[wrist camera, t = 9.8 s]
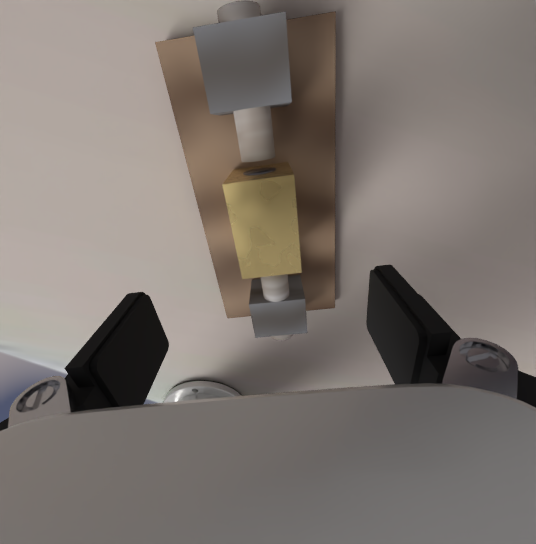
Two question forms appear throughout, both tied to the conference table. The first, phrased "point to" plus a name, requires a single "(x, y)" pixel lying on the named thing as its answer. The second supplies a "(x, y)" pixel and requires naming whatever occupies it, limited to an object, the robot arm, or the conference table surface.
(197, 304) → the conference table surface
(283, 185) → the block
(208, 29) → the shaft stand
